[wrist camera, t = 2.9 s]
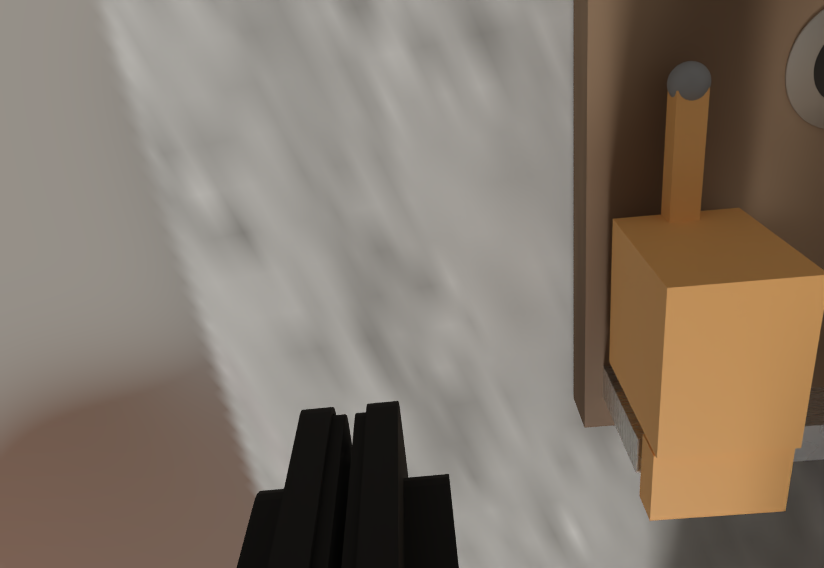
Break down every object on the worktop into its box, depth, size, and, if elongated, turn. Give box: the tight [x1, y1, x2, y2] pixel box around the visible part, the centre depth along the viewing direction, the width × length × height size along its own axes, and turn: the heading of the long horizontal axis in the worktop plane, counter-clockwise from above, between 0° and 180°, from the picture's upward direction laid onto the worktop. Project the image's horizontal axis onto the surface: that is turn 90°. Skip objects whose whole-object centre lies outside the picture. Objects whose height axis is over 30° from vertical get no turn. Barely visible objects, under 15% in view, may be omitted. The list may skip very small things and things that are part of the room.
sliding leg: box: [609, 61, 824, 521], centre depth 15 cm, size 3×9×4 cm, turn 6°
